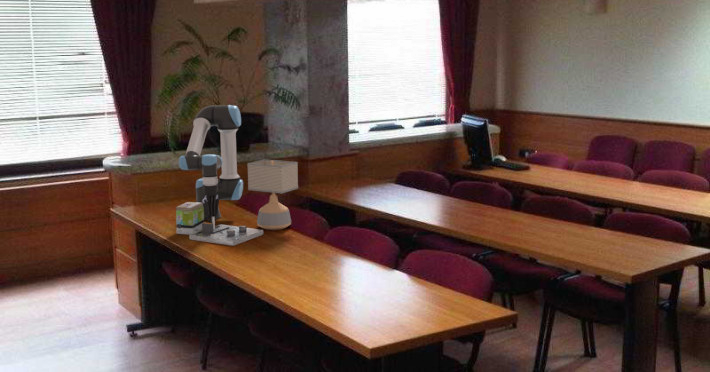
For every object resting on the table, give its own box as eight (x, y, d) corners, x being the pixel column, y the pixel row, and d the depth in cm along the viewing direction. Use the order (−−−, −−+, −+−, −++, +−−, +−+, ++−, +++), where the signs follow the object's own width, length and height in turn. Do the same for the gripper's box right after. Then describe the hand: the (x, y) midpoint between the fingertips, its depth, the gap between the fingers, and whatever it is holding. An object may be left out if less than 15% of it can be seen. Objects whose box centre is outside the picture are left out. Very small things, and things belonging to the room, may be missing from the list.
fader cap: (206, 231, 414) (205, 221, 413) (213, 232, 411) (213, 222, 410) (202, 232, 411) (201, 223, 410) (209, 233, 409) (209, 224, 408)
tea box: (194, 235, 417) (192, 207, 414) (176, 234, 419) (174, 206, 416) (204, 228, 431) (203, 201, 429) (187, 227, 433) (186, 201, 431)
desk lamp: (300, 225, 436) (299, 160, 429) (281, 233, 419) (279, 165, 413) (267, 221, 446) (265, 157, 439) (247, 228, 429) (245, 162, 423)
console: (220, 228, 431) (219, 219, 430) (263, 234, 417) (263, 225, 416) (188, 239, 408) (188, 229, 407) (233, 245, 395) (232, 236, 394)
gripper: (212, 181, 417) (214, 225, 421) (196, 185, 405) (198, 230, 410) (223, 182, 413) (225, 226, 417) (207, 187, 402) (209, 232, 406)
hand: (211, 228), depth 414 cm, fingers closed
